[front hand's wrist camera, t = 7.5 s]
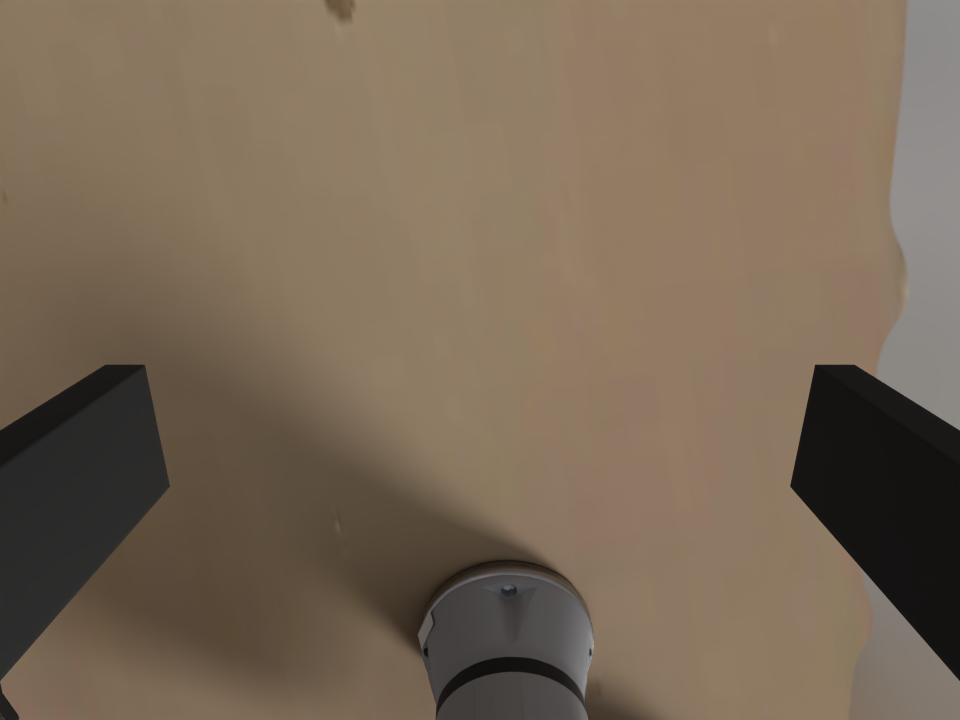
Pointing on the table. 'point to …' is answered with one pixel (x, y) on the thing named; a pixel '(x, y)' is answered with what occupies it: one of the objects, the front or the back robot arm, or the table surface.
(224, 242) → the table surface
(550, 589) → the back robot arm
